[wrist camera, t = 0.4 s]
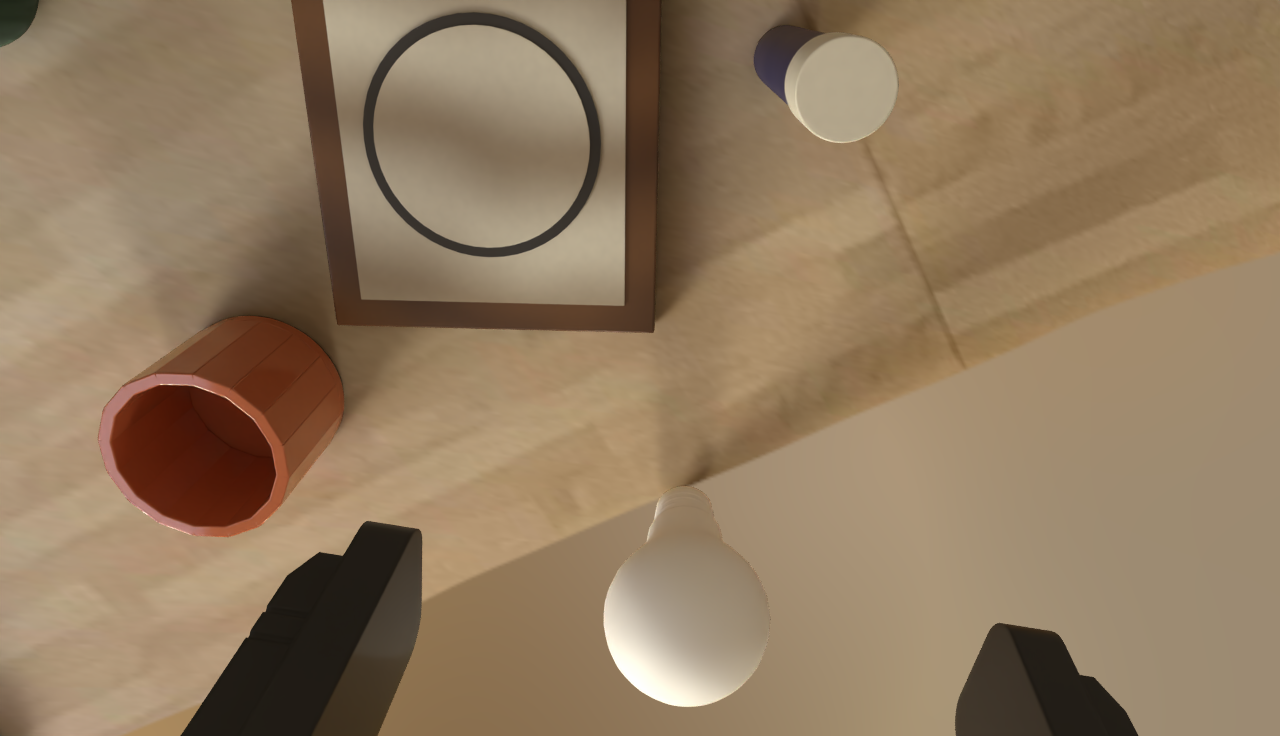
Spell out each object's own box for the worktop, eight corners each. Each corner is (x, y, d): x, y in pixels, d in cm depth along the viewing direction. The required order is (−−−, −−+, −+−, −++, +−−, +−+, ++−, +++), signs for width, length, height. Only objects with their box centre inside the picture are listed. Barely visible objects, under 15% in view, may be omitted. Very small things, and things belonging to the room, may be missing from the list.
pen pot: (169, 312, 35) (77, 370, 30) (333, 317, 35) (270, 375, 30) (202, 457, 38) (123, 534, 33) (354, 462, 38) (300, 539, 32)
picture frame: (289, -88, 29) (273, -92, 28) (663, -84, 29) (662, -88, 28) (345, 317, 35) (334, 328, 34) (654, 324, 35) (654, 335, 34)
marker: (753, 21, 30) (799, 34, 19) (820, 22, 30) (906, 35, 19) (748, 92, 31) (790, 142, 20) (813, 93, 31) (891, 144, 20)
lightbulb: (589, 488, 38) (560, 663, 28) (697, 416, 36) (707, 574, 26) (671, 576, 40) (670, 770, 30) (777, 511, 38) (815, 693, 28)
